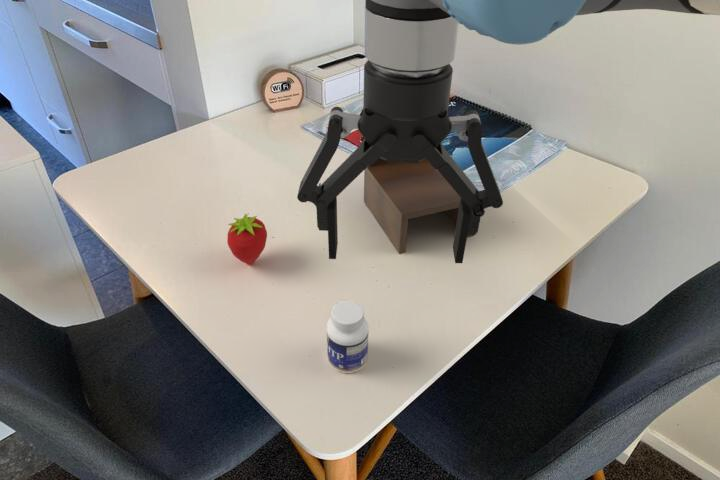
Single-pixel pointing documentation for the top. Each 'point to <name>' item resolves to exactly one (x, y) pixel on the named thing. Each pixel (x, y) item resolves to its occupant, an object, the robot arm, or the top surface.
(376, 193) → the shelf
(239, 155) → the top surface
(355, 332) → the pill bottle
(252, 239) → the strawberry
